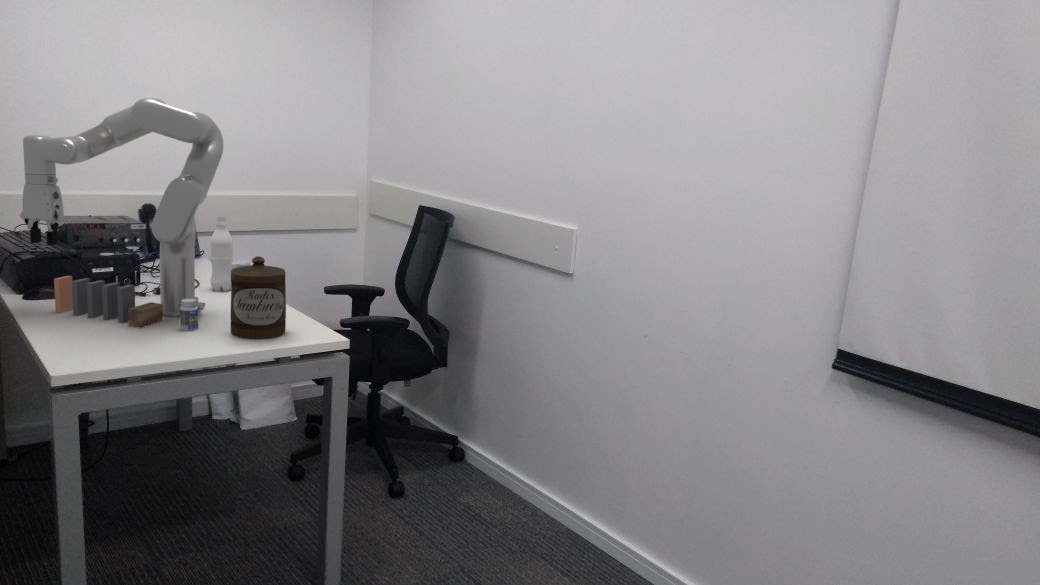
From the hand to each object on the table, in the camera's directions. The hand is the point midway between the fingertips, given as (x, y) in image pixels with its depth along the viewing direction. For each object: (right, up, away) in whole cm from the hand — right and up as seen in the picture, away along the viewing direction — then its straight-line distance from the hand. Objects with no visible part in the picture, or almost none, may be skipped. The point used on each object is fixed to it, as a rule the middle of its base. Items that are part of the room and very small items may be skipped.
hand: (44, 242), depth 223 cm
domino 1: (+4, -20, +3) cm, 20 cm away
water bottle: (+35, -14, +43) cm, 57 cm away
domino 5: (+25, -22, -1) cm, 33 cm away
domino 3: (+15, -21, +1) cm, 26 cm away
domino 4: (+20, -22, 0) cm, 29 cm away
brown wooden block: (+31, -23, -3) cm, 39 cm away
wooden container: (+63, -26, -3) cm, 68 cm away
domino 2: (+10, -20, +2) cm, 23 cm away
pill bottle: (+44, -25, -5) cm, 50 cm away
